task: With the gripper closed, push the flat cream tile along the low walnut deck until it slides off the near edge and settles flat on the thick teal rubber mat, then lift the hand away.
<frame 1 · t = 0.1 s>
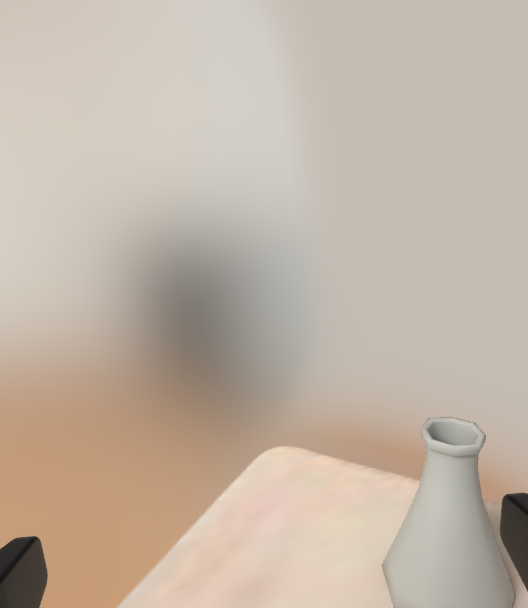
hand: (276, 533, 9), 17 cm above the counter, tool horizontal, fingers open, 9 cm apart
flask: (445, 585, 26), on the counter
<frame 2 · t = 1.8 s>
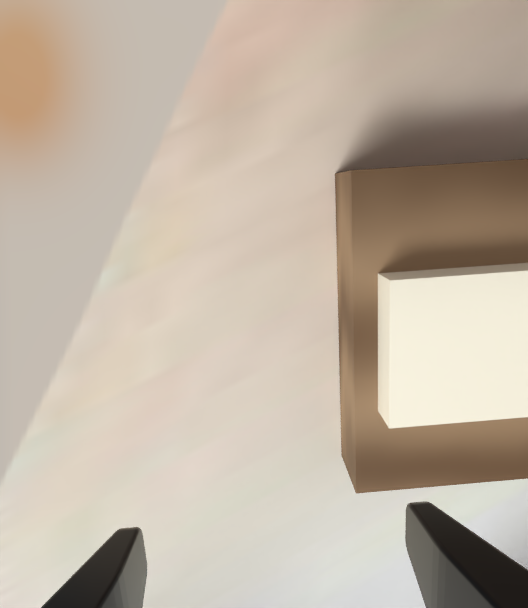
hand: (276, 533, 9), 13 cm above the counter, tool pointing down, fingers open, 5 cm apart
walnut deck: (462, 316, 22), on the counter
cream tile: (472, 337, 19), point 3 cm above the counter, touching walnut deck
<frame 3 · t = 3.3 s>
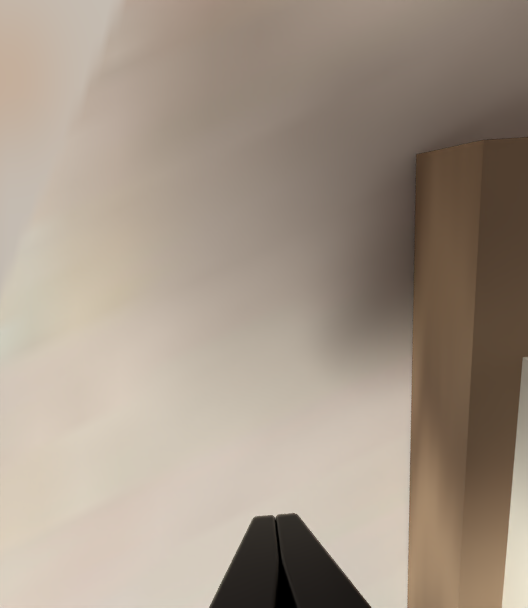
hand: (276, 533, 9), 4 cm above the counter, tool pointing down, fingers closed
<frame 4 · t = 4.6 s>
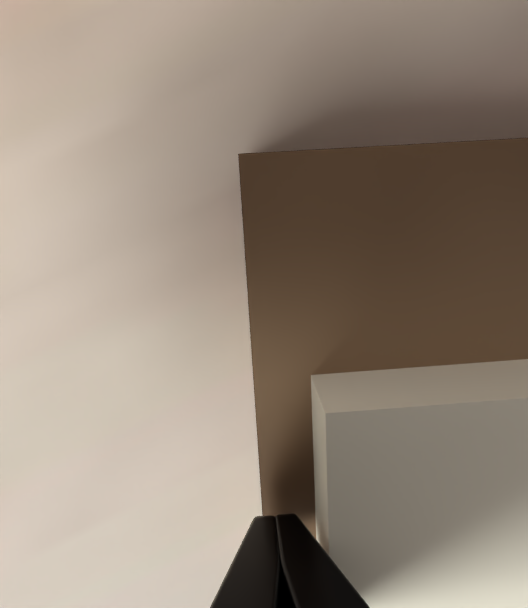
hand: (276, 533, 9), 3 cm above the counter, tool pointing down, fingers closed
walnut deck: (477, 420, 12), on the counter
cream tile: (507, 495, 9), point 3 cm above the counter, touching gripper, walnut deck
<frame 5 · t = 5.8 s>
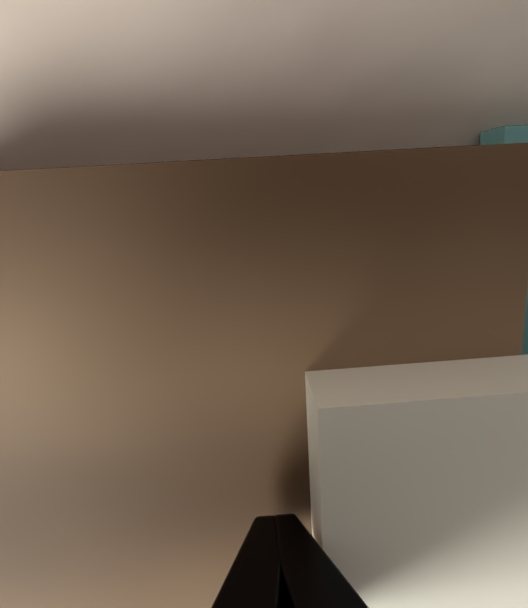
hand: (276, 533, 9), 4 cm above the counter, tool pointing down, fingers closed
walnut deck: (225, 440, 12), on the counter
cream tile: (502, 491, 9), point 3 cm above the counter, touching gripper
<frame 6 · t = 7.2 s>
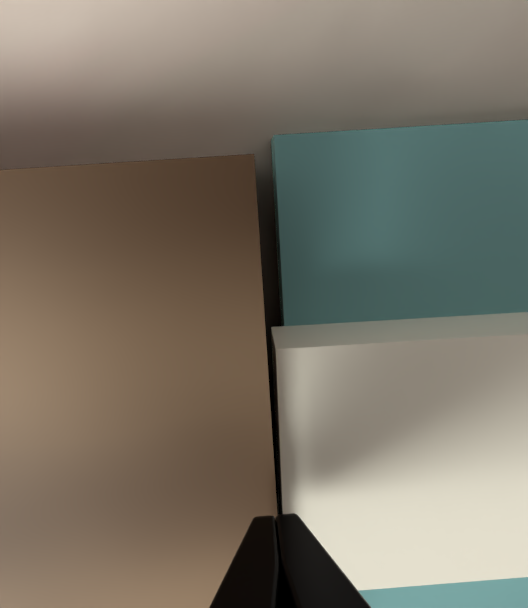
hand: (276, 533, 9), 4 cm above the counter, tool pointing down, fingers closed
walnut deck: (42, 455, 12), on the counter
teal mat: (487, 418, 12), on the counter
cream tile: (436, 433, 11), point 1 cm above the counter, touching teal mat
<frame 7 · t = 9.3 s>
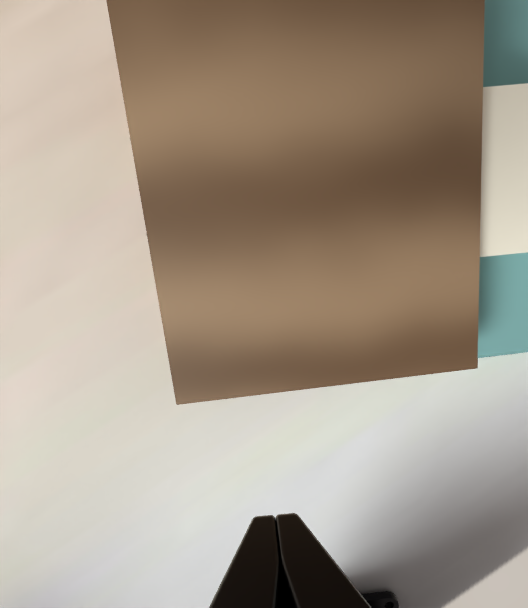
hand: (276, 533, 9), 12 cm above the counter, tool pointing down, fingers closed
walnut deck: (303, 202, 19), on the counter
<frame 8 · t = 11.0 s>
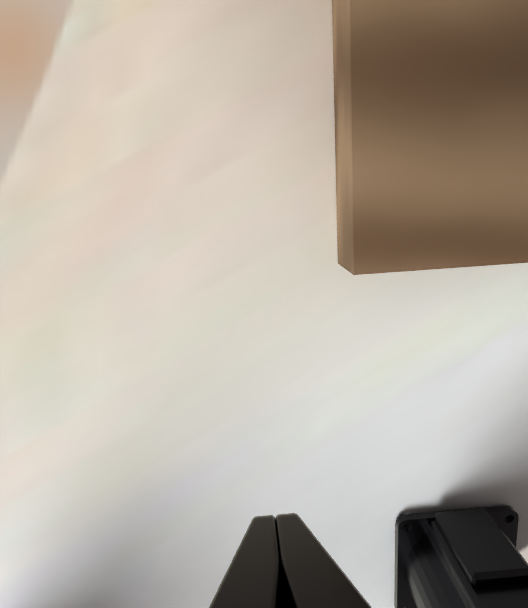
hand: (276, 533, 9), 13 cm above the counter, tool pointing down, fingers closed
walnut deck: (473, 91, 19), on the counter
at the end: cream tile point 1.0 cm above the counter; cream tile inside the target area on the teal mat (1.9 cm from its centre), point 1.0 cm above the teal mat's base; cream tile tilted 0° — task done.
